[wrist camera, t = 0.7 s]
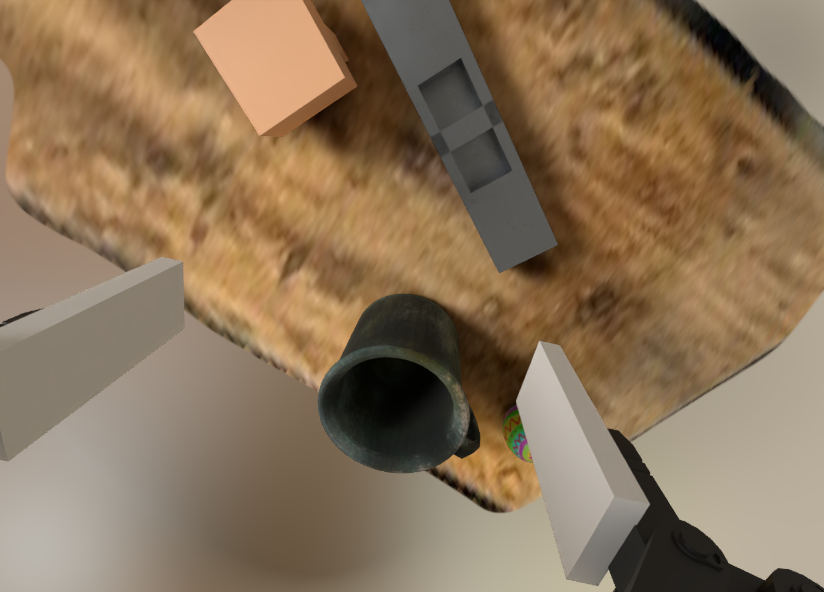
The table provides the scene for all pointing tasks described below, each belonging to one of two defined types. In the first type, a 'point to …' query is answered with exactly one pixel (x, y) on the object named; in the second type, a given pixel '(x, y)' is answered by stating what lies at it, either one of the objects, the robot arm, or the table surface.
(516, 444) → the egg
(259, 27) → the tan block with tab
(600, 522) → the robot arm
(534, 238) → the rail
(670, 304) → the table surface
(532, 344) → the table surface
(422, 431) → the mug
